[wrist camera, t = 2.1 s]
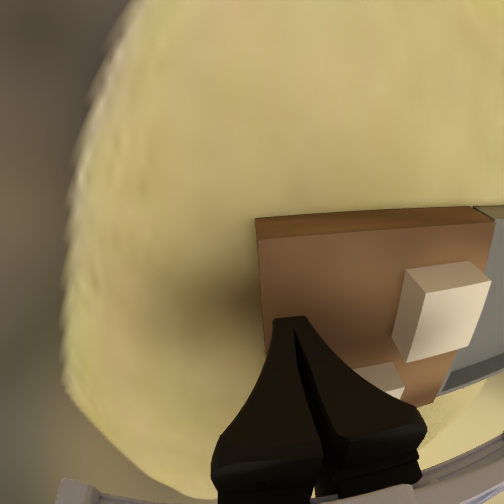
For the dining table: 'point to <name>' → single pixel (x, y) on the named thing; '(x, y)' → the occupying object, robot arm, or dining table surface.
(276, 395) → the robot arm
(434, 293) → the tile
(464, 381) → the tray
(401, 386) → the tile
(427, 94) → the dining table surface
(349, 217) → the plate
